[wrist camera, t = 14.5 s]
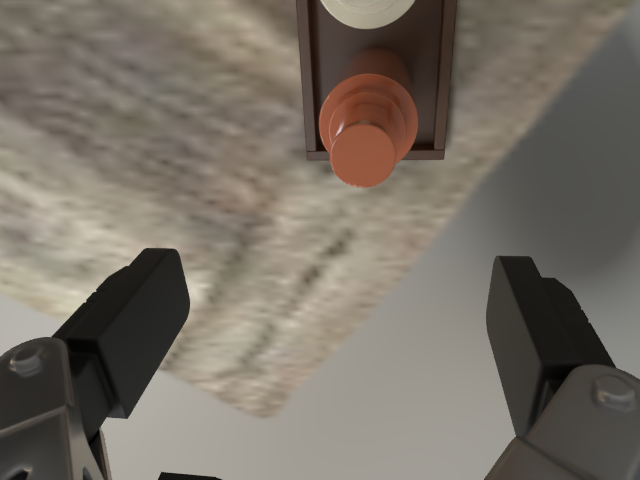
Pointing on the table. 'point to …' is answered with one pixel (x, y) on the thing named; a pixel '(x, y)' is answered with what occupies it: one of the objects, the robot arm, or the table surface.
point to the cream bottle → (367, 11)
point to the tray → (398, 37)
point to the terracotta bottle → (369, 117)
